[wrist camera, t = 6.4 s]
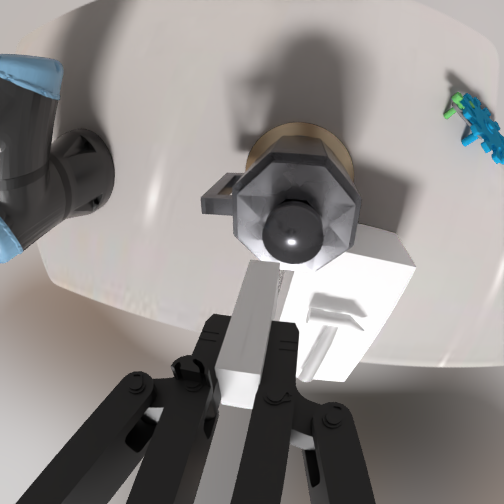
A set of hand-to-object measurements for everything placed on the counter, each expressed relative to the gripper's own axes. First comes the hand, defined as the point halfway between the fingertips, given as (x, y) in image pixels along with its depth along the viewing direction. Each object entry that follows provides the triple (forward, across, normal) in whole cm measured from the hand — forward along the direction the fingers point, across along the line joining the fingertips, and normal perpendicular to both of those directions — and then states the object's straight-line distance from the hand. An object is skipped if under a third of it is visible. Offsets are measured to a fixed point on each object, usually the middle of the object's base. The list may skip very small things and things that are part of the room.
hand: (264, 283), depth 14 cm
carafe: (+23, 0, -1) cm, 23 cm away
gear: (+24, +25, +11) cm, 36 cm away
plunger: (+20, +1, -1) cm, 20 cm away
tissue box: (+24, +7, -19) cm, 31 cm away
